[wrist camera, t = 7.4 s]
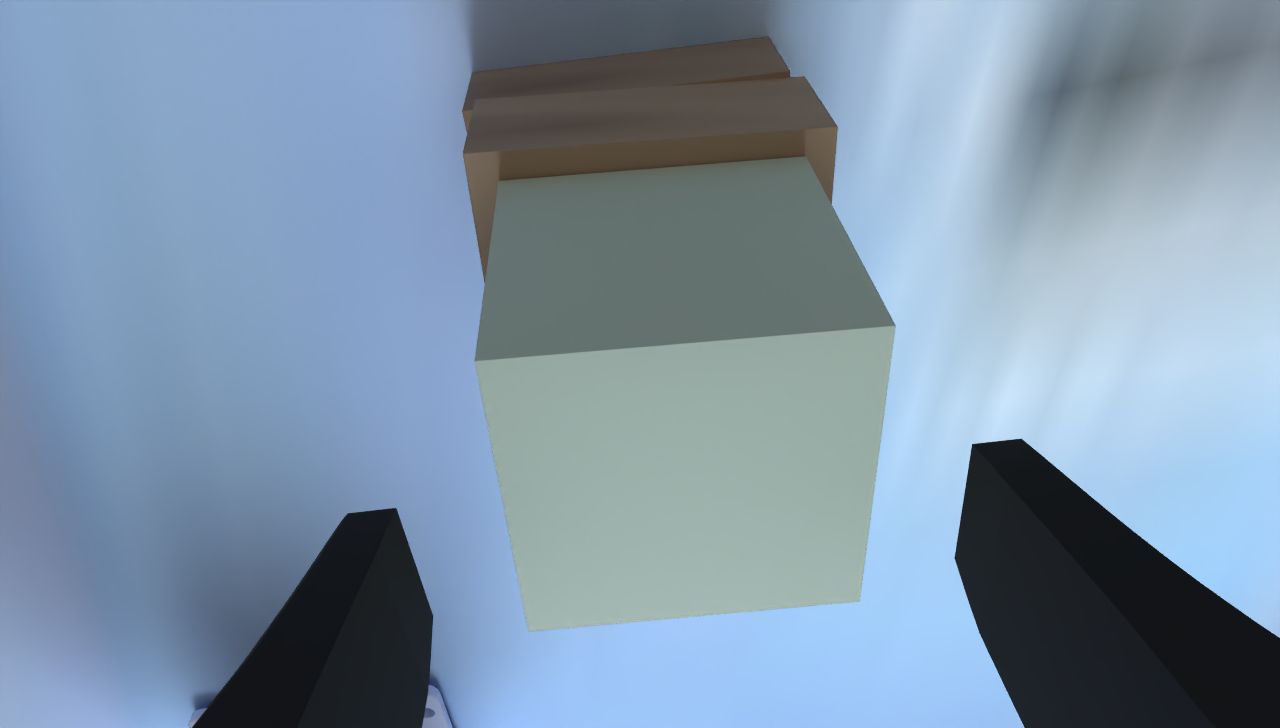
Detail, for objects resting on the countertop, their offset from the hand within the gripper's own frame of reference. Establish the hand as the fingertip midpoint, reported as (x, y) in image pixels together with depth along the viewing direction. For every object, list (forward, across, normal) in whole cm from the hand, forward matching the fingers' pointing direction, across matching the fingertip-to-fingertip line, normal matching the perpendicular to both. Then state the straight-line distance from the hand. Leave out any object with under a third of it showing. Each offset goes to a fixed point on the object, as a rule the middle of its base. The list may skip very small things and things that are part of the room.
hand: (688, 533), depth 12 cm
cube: (+6, 0, 0) cm, 6 cm away
